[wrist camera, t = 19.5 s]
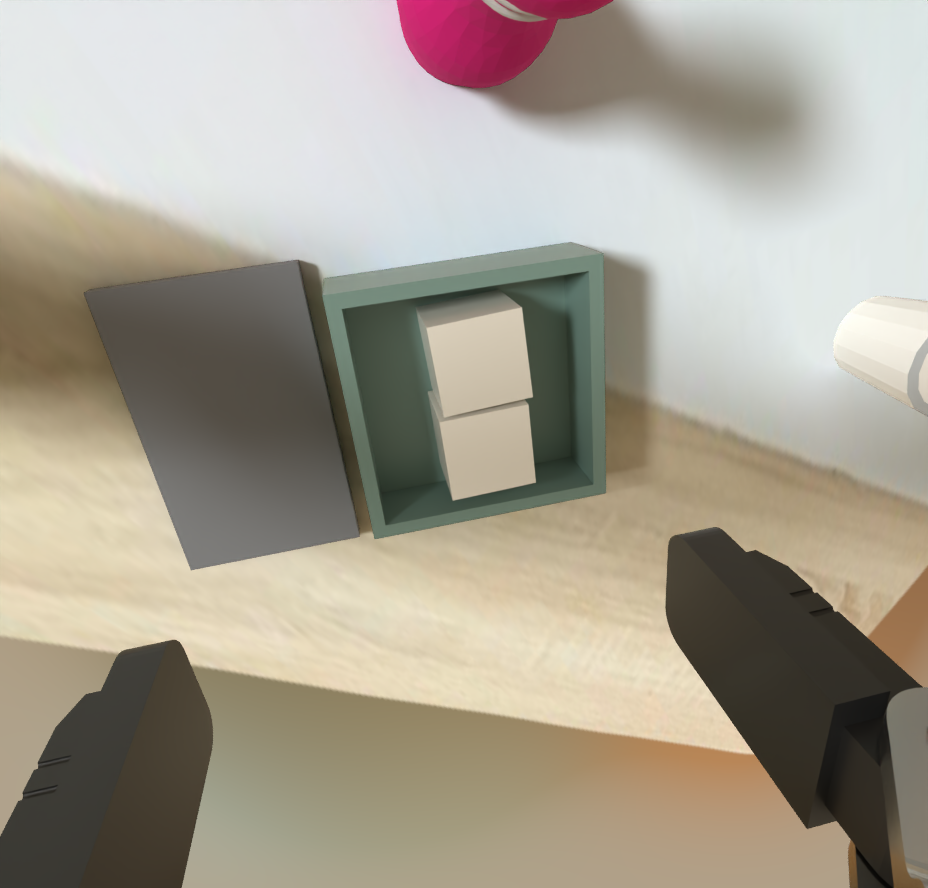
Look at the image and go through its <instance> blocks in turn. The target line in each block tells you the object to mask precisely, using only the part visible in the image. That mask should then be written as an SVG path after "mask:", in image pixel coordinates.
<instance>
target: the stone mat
mask: <svg viewBox="0 0 928 888" xmlns="http://www.w3.org/2000/svg"><path fill="white" fill-rule="evenodd" d="M84 295H85V298H86V301H87V303H88V306H89V308H90V311H91V313H92V316H93V319H94V321H95V324H96V326H97V329H98V332H99V334H100V337H101V339H102V342H103V344H104V347H105V350H106V352H107V355H108V357H109V360H110V362H111V365H112V368H113V370H114V373H115V375H116V378H117V381H118V383H119V386H120V388H121V391H122V393H123V396H124V399H125V401H126V404H127V406H128V409H129V411H130V414H131V417H132V419H133V422H134V424H135V427H136V430H137V432H138V435H139V437H140V440H141V442H142V445H143V448H144V450H145V453H146V455H147V458H148V460H149V463H150V466H151V468H152V471H153V473H154V476H155V479H156V481H157V484H158V486H159V489H160V491H161V494H162V497H163V499H164V502H165V504H166V507H167V509H168V512H169V515H170V517H171V520H172V522H173V525H174V528H175V530H176V533H177V535H178V538H179V540H180V543H181V546H182V548H183V551H184V553H185V556H186V559H187V561H188V564H189V566H190V569H191V570H195V569H200V568H205V567H210V566H215V565H220V564H225V563H230V562H235V561H240V560H245V559H250V558H255V557H260V556H265V555H270V554H275V553H280V552H285V551H290V550H296V549H301V548H306V547H311V546H316V545H321V544H326V543H331V542H336V541H341V540H346V539H351V538H356V537H360V534H359V526H358V521H357V517H356V512H355V508H354V503H353V499H352V495H351V490H350V486H349V481H348V477H347V473H346V468H345V464H344V459H343V455H342V450H341V446H340V442H339V437H338V433H337V428H336V424H335V420H334V415H333V411H332V406H331V402H330V398H329V393H328V389H327V384H326V380H325V375H324V371H323V367H322V362H321V358H320V353H319V349H318V345H317V340H316V336H315V331H314V327H313V322H312V318H311V314H310V309H309V305H308V300H307V296H306V292H305V287H304V283H303V278H302V274H301V270H300V265H299V261H298V260H293V261H286V262H279V263H272V264H265V265H258V266H251V267H244V268H237V269H230V270H223V271H216V272H209V273H202V274H195V275H188V276H181V277H174V278H167V279H160V280H153V281H146V282H139V283H132V284H125V285H118V286H111V287H104V288H97V289H90V290H88V291H86V292H84Z"/></svg>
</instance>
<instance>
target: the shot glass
mask: <svg viewBox="0 0 928 888" xmlns="http://www.w3.org/2000/svg"><path fill="white" fill-rule="evenodd" d="M833 353H834V358H835V360H836V362H837V364H838V366H839V367H840V368H841V369H843V370H845V371H847V372H848V373H850V374H852V375H854V376H856V377H857V378H859V379H861V380H863V381H865V382H866V383H868V384H870V385H872V386H874V387H875V388H877V389H879V390H881V391H883V392H884V393H886V394H888V395H890V396H892V397H894V398H895V399H897V400H899V401H901V402H903V403H904V404H906V405H908V406H910V407H912V408H913V409H915V410H917V411H919V412H921V413H922V414H924V415H926V416H928V301H922V300H914V299H906V298H898V297H889V296H875V297H872V298H870V299H867V300H865V301H862V302H861V303H859V304H858V305H857V306H856V307H855V308H853V309H852V310H851V311H850V312H848V314H847V315H846V317H845V318H844V319H843V321H842V322H841V324H840V325H839V327H838V329H837V332H836V335H835V338H834V341H833Z"/></svg>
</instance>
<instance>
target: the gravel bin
mask: <svg viewBox="0 0 928 888" xmlns="http://www.w3.org/2000/svg"><path fill="white" fill-rule="evenodd" d="M498 289H499V290H500V291H502V292H503V293H504V294H505V295H507V296H508V297H509V298H511V299H512V300H513V301H514V302H516V303H517V304H518V305H519V306H521V307H522V313H523V321H524V329H525V337H526V345H527V353H528V361H529V369H530V377H531V385H532V393H533V397H531V398H527V399H525V401H526V402H527V403H528V406H529V416H530V426H531V436H532V447H533V457H534V467H535V478H536V483H532V484H527V485H523V486H518V487H514V488H509V489H504V490H500V491H495V492H491V493H486V494H481V495H477V496H472V497H468V498H463V499H458V500H454V501H453V500H452V497H451V494H450V491H449V488H448V485H447V482H446V479H445V476H444V473H443V470H442V467H441V464H440V459H439V454H438V448H437V442H436V437H435V431H434V425H433V420H432V414H431V408H430V403H429V397H428V391H432V390H433V389H432V386H431V381H430V376H429V371H428V366H427V361H426V357H425V352H424V347H423V342H422V337H421V332H420V327H419V322H418V317H417V312H416V308H415V307H418V306H423V305H427V304H432V303H437V302H442V301H446V300H451V299H456V298H461V297H465V296H470V295H475V294H479V293H484V292H489V291H494V290H498ZM322 297H323V302H324V307H325V311H326V316H327V321H328V325H329V330H330V334H331V339H332V344H333V348H334V353H335V358H336V362H337V367H338V372H339V376H340V381H341V386H342V390H343V395H344V400H345V404H346V409H347V413H348V418H349V423H350V427H351V432H352V437H353V441H354V446H355V451H356V455H357V460H358V465H359V469H360V474H361V479H362V483H363V488H364V493H365V497H366V502H367V506H368V511H369V516H370V520H371V525H372V530H373V534H374V539H379V538H384V537H389V536H394V535H399V534H404V533H409V532H414V531H419V530H424V529H429V528H434V527H439V526H444V525H449V524H454V523H459V522H464V521H469V520H474V519H479V518H484V517H489V516H494V515H499V514H504V513H509V512H514V511H519V510H524V509H529V508H534V507H539V506H544V505H549V504H554V503H559V502H564V501H569V500H574V499H579V498H584V497H589V496H594V495H599V494H604V493H606V444H605V347H604V253H602V252H599V251H596V250H593V249H590V248H587V247H584V246H581V245H578V244H575V243H572V242H568V243H562V244H555V245H548V246H541V247H534V248H528V249H521V250H514V251H507V252H500V253H494V254H487V255H480V256H473V257H466V258H460V259H453V260H446V261H439V262H432V263H426V264H419V265H412V266H405V267H398V268H392V269H385V270H378V271H371V272H364V273H358V274H351V275H344V276H337V277H330V278H325V279H324V286H323V293H322Z"/></svg>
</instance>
